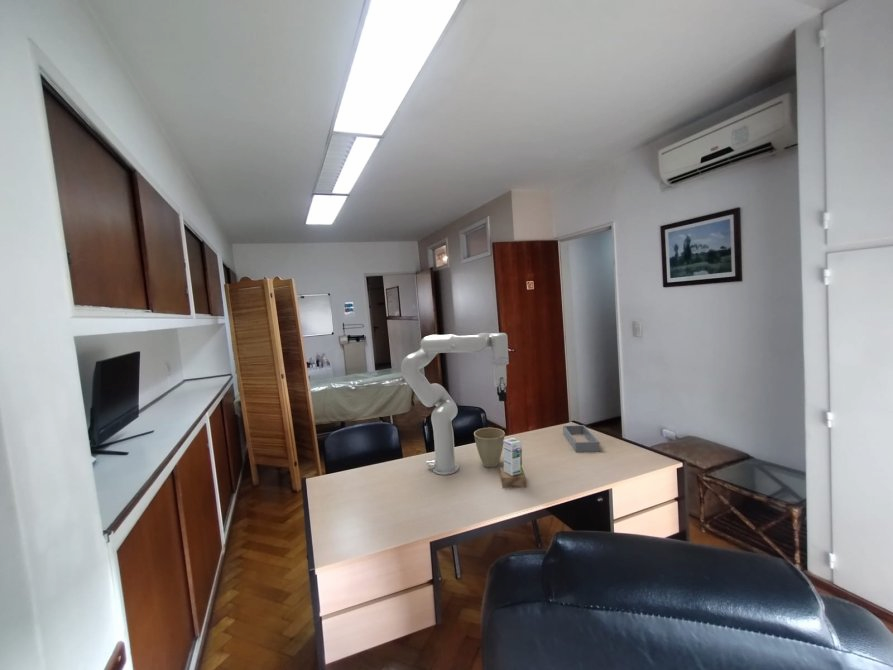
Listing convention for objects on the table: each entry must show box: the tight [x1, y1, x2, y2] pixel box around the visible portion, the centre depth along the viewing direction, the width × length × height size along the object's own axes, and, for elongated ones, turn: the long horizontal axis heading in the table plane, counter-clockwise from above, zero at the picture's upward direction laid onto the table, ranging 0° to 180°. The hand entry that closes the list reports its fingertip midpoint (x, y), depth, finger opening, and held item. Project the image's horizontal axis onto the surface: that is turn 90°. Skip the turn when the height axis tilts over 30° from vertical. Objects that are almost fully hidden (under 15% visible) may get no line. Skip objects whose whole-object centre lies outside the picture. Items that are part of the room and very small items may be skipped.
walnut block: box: [499, 466, 527, 489], centre depth 167 cm, size 10×10×5 cm
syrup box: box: [503, 437, 523, 476], centre depth 166 cm, size 6×6×14 cm
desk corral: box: [562, 424, 601, 453], centre depth 206 cm, size 12×26×5 cm, turn 176°
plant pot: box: [473, 427, 506, 468], centre depth 185 cm, size 15×15×16 cm
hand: (501, 398), depth 170 cm, fingers open, 9 cm apart
